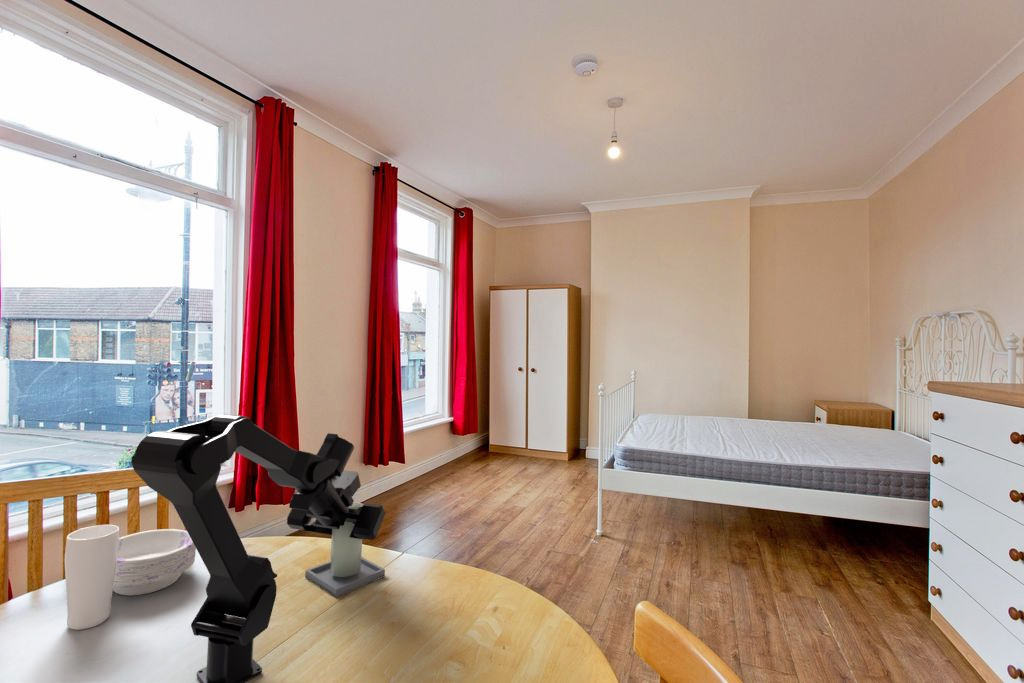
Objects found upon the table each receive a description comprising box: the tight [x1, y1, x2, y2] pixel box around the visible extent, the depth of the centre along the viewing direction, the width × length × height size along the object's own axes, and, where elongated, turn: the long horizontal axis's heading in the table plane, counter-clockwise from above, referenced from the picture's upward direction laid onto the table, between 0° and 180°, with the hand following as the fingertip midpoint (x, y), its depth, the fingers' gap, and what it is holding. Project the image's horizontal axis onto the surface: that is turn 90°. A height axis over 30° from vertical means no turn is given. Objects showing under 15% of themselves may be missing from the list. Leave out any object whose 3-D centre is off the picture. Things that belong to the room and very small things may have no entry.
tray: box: [304, 556, 386, 598], centre depth 97 cm, size 11×11×2 cm
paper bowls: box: [112, 528, 197, 596], centre depth 91 cm, size 15×15×8 cm
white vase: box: [64, 524, 120, 631], centre depth 79 cm, size 7×7×15 cm
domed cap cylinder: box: [329, 501, 364, 577], centre depth 97 cm, size 6×6×13 cm
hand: (350, 535), depth 99 cm, fingers closed on domed cap cylinder, 6 cm apart
